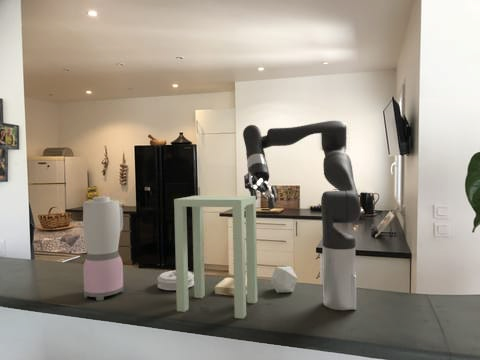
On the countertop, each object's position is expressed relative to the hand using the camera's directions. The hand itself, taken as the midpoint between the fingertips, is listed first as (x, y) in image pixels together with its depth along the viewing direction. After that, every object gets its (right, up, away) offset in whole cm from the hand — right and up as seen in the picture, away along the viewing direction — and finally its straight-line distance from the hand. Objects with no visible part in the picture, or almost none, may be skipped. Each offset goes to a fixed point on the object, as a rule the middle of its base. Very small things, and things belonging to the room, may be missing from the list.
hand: (263, 204), depth 126 cm
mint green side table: (-14, -29, -18) cm, 37 cm away
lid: (-30, -29, +1) cm, 42 cm away
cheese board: (-8, -28, 0) cm, 29 cm away
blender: (-52, -29, -5) cm, 60 cm away
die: (+6, -28, -6) cm, 30 cm away
